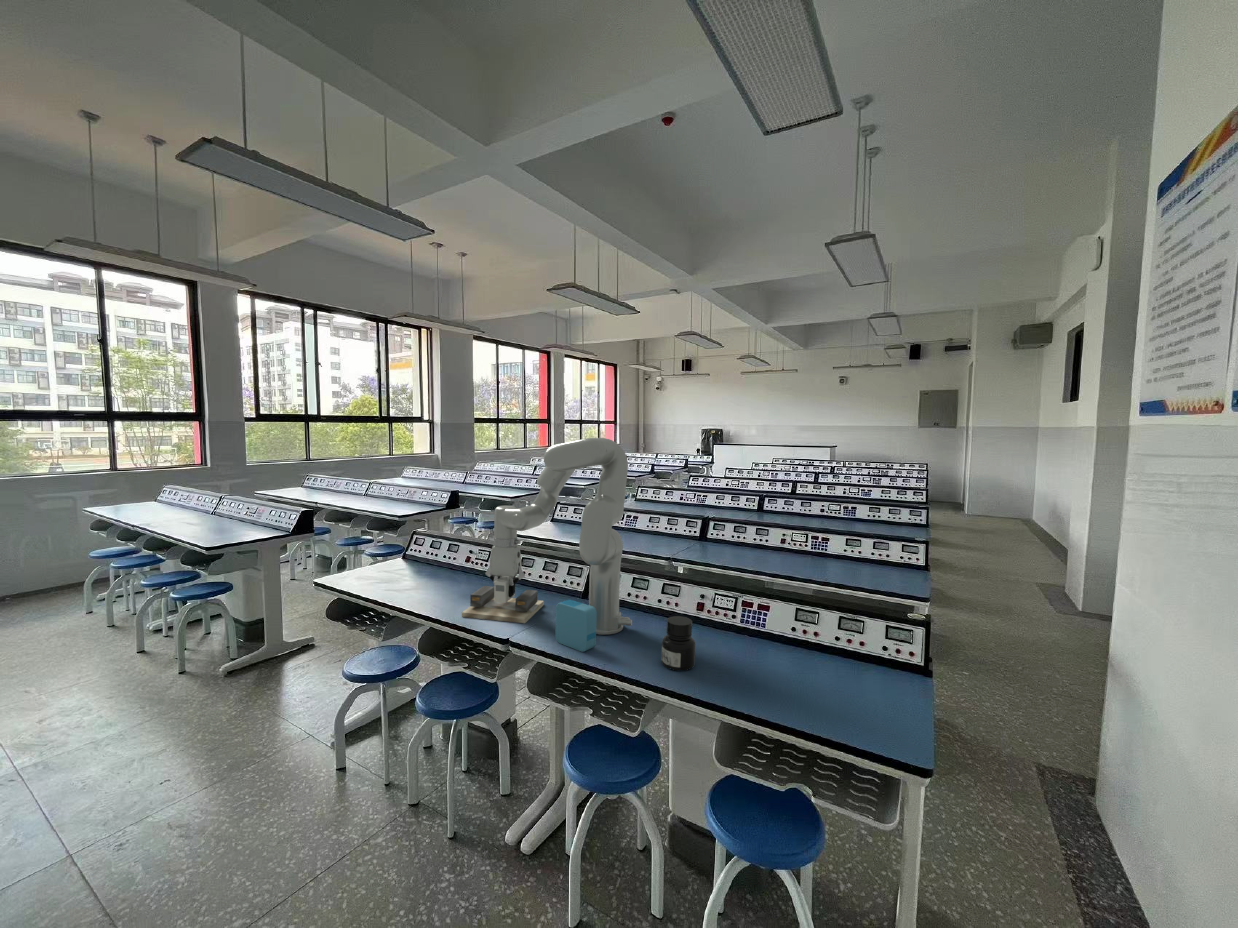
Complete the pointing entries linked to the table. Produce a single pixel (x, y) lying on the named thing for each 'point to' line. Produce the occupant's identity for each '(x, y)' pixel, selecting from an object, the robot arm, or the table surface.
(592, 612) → the light blue flat block
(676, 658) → the ink bottle
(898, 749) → the table surface
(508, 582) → the block
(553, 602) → the table surface
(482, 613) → the rail board
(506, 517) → the robot arm
